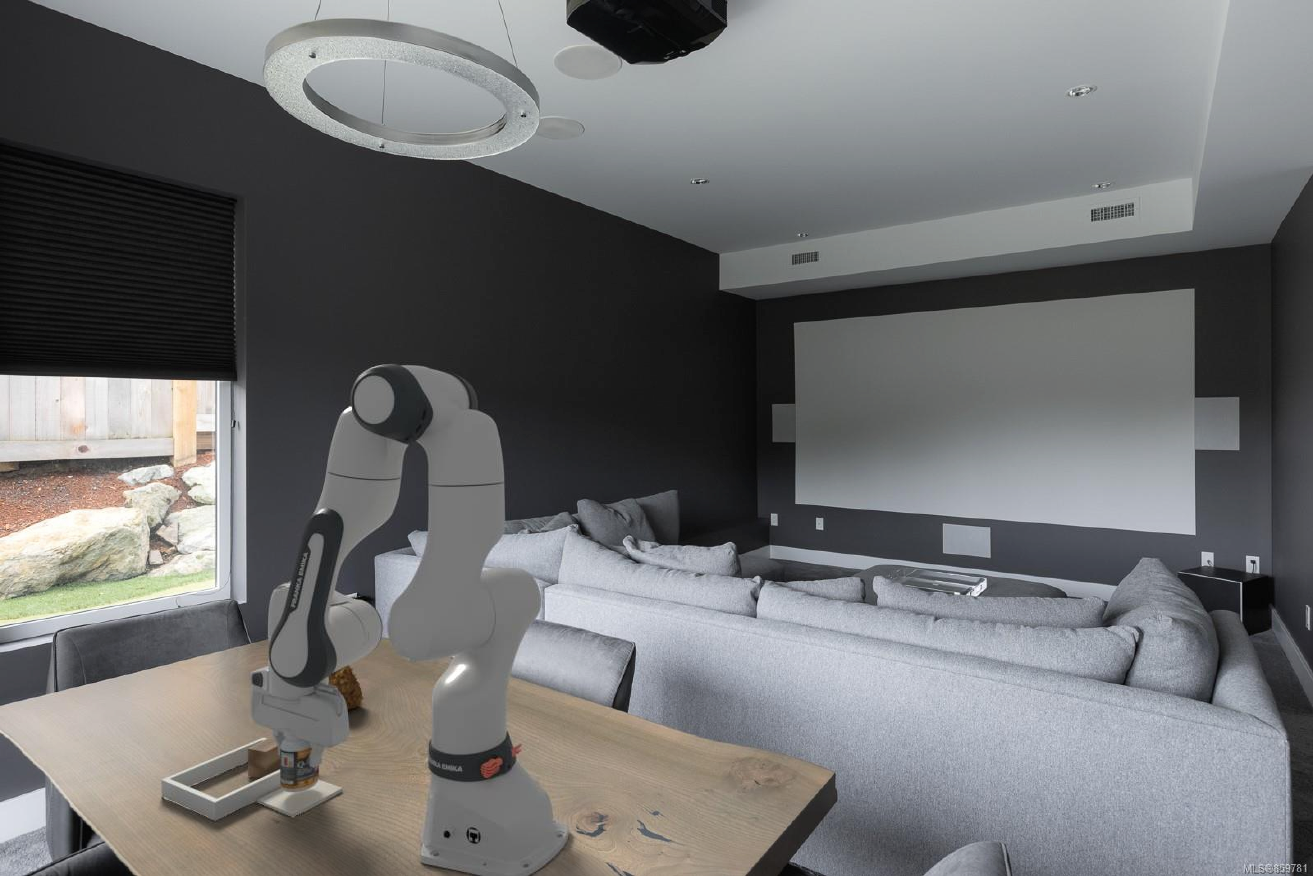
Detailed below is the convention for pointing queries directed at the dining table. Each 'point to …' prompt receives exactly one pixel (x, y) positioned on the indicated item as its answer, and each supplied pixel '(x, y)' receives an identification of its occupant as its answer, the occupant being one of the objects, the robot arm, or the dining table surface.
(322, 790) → the coaster
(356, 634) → the robot arm
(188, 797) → the tray frame
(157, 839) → the dining table surface
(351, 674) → the stuffed squirrel
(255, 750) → the walnut block
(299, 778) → the pill bottle
